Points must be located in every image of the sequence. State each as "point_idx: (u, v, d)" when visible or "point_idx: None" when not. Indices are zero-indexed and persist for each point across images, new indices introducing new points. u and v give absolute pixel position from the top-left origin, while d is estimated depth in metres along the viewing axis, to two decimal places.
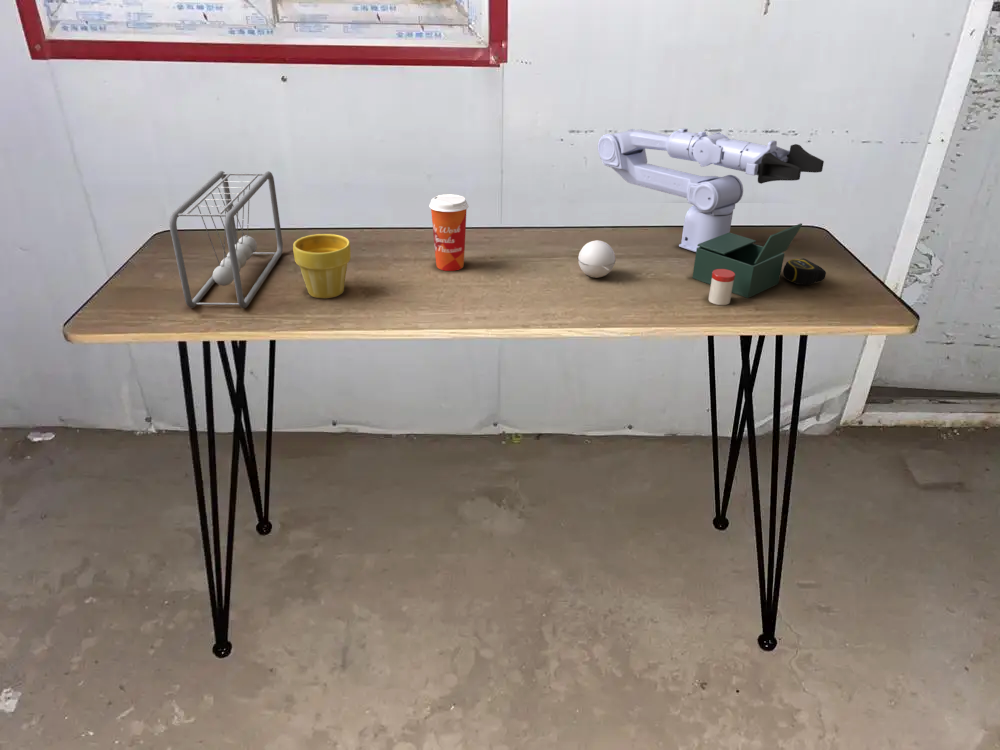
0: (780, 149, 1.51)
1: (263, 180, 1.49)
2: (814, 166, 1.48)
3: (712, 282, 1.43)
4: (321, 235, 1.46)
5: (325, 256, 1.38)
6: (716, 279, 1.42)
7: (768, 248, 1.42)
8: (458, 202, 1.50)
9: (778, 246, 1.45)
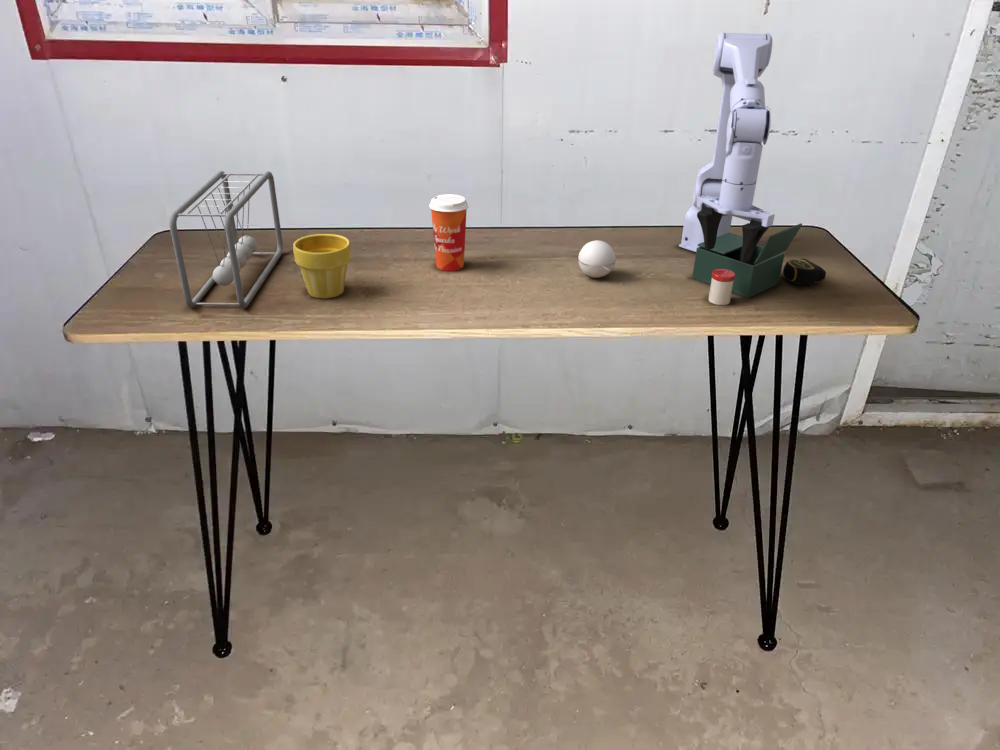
0: None
1: (263, 180, 1.49)
2: None
3: (712, 282, 1.43)
4: (321, 235, 1.46)
5: (325, 256, 1.38)
6: (716, 279, 1.42)
7: (768, 248, 1.42)
8: (458, 202, 1.50)
9: (778, 246, 1.45)
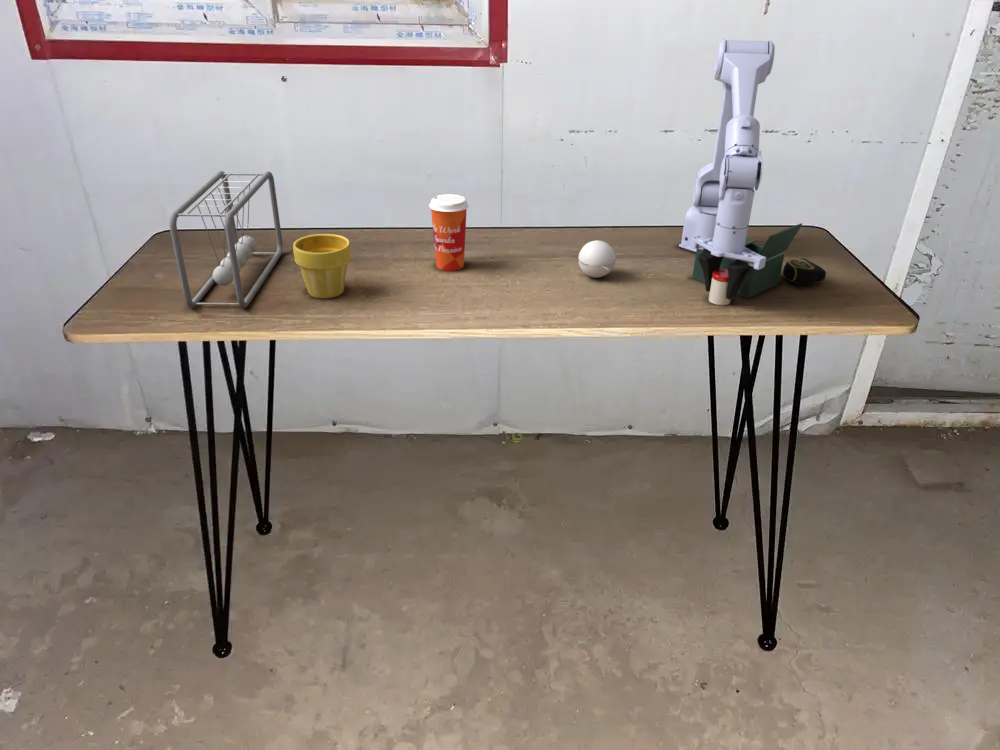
0: None
1: (263, 180, 1.49)
2: None
3: (712, 282, 1.43)
4: (321, 235, 1.46)
5: (325, 256, 1.38)
6: (716, 279, 1.42)
7: (768, 248, 1.42)
8: (458, 202, 1.50)
9: (778, 246, 1.45)
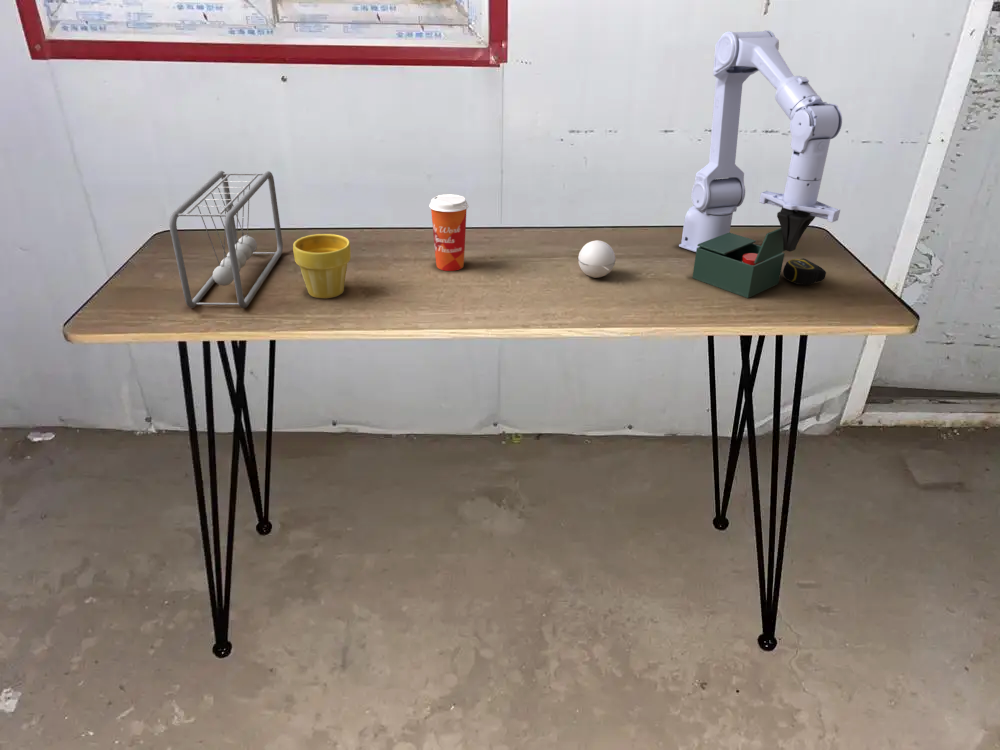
0: None
1: (263, 180, 1.49)
2: None
3: None
4: (321, 235, 1.46)
5: (325, 256, 1.38)
6: None
7: (767, 247, 1.42)
8: (458, 202, 1.50)
9: (777, 245, 1.45)
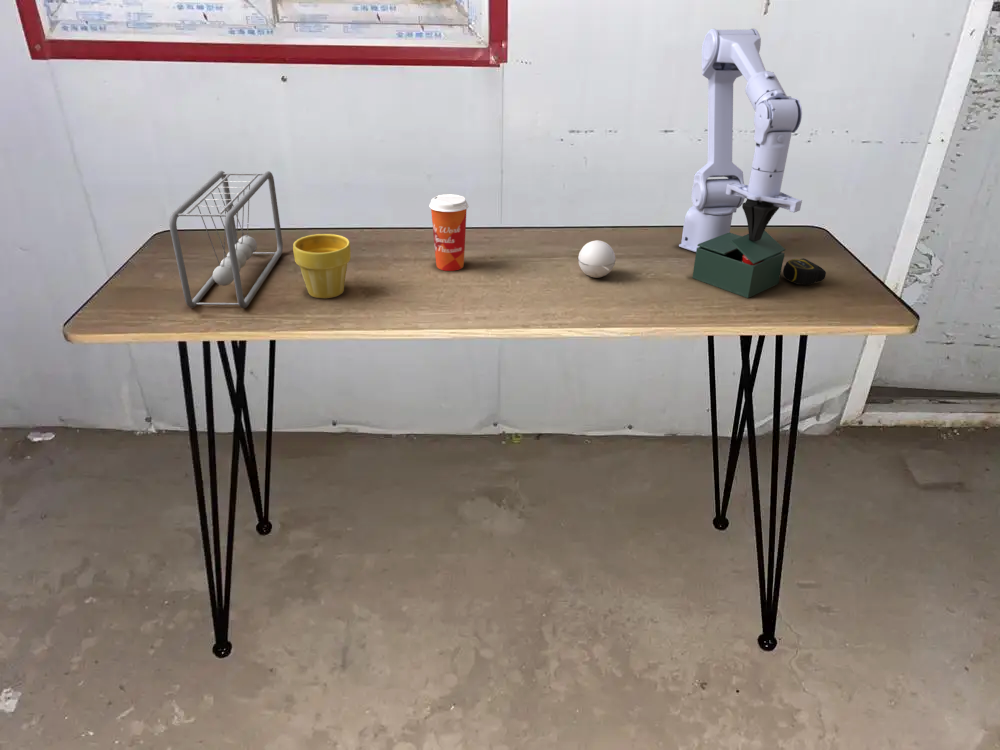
0: None
1: (263, 180, 1.49)
2: None
3: None
4: (321, 235, 1.46)
5: (325, 256, 1.38)
6: None
7: (749, 249, 1.45)
8: (458, 202, 1.50)
9: (762, 247, 1.47)
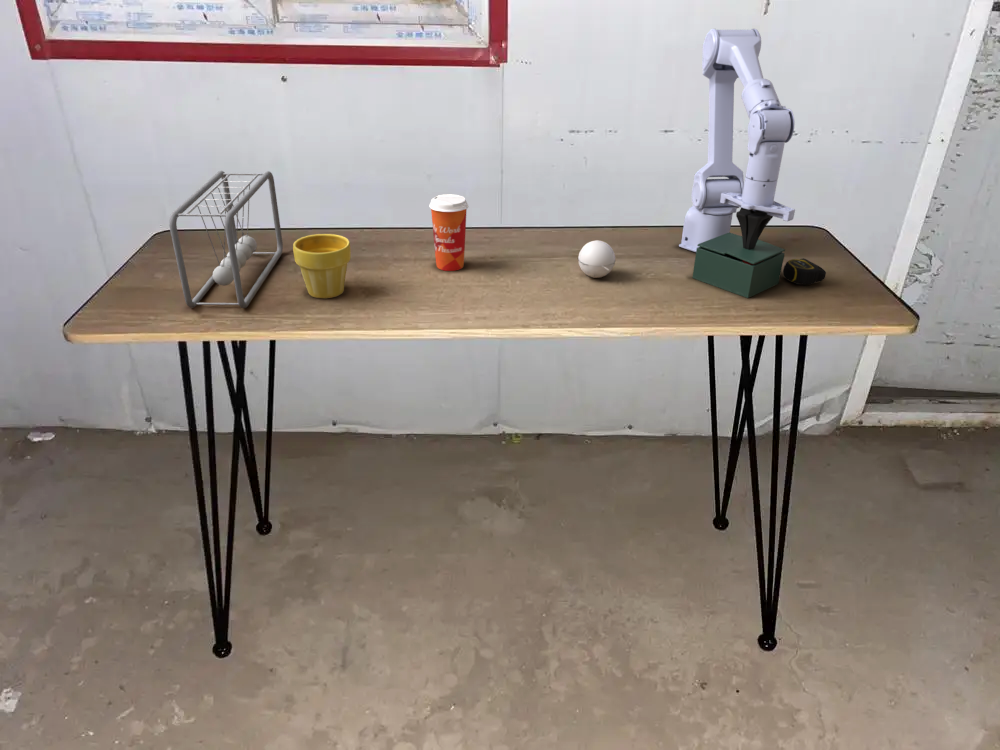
0: None
1: (263, 180, 1.49)
2: None
3: None
4: (321, 235, 1.46)
5: (325, 256, 1.38)
6: None
7: (746, 254, 1.46)
8: (458, 202, 1.50)
9: (760, 251, 1.48)
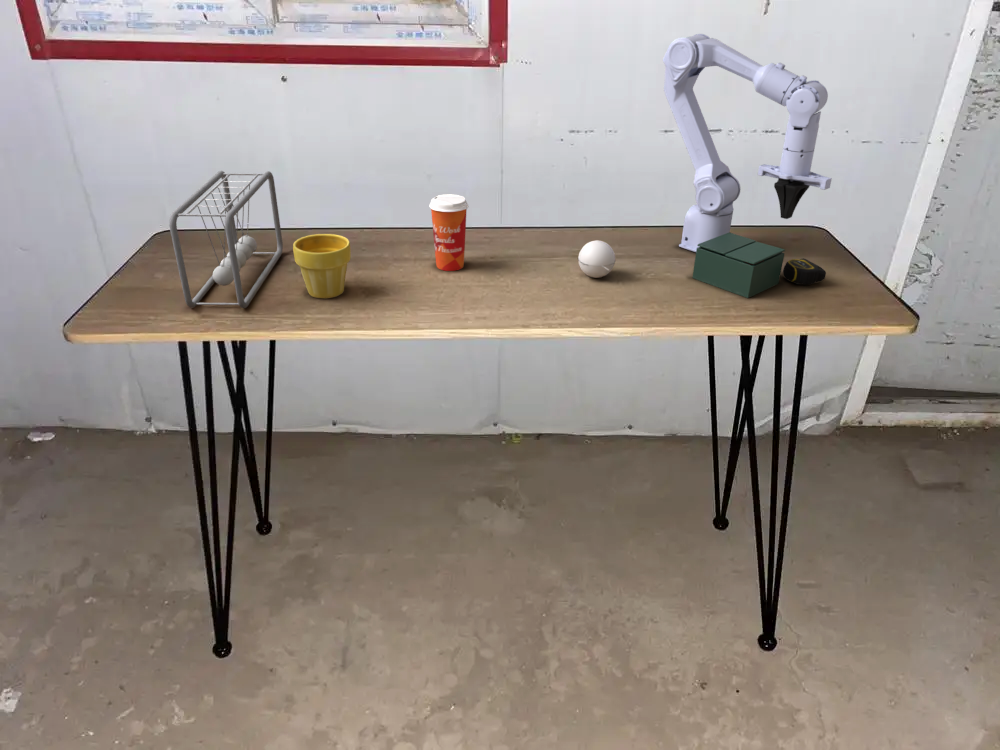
0: None
1: (263, 180, 1.49)
2: None
3: None
4: (321, 235, 1.46)
5: (325, 256, 1.38)
6: None
7: (745, 256, 1.46)
8: (458, 202, 1.50)
9: (759, 252, 1.48)
